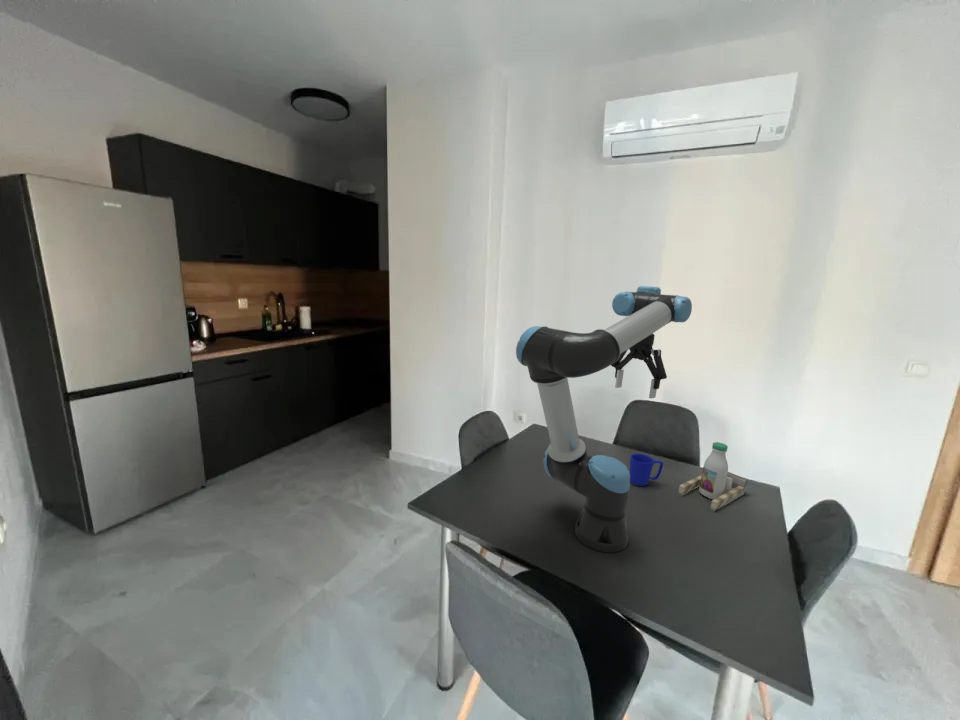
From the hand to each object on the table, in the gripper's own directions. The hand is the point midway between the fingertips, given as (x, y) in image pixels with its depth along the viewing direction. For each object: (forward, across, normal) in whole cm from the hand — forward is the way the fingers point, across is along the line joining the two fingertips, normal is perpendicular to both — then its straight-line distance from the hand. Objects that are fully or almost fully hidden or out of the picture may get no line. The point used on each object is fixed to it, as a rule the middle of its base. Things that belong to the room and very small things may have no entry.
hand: (634, 392), depth 143 cm
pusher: (+36, -20, -31) cm, 52 cm away
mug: (+37, -2, -11) cm, 39 cm away
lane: (+37, -20, -26) cm, 49 cm away
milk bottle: (+37, -20, -25) cm, 49 cm away
